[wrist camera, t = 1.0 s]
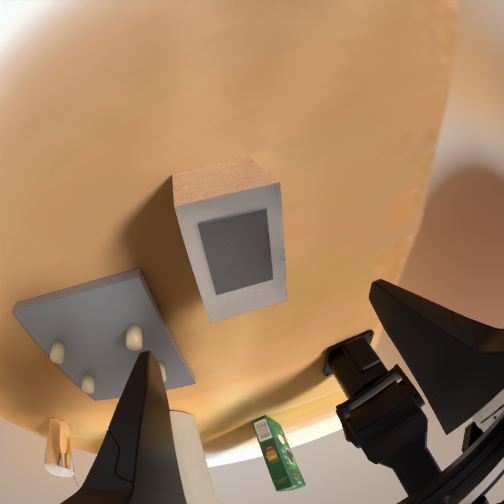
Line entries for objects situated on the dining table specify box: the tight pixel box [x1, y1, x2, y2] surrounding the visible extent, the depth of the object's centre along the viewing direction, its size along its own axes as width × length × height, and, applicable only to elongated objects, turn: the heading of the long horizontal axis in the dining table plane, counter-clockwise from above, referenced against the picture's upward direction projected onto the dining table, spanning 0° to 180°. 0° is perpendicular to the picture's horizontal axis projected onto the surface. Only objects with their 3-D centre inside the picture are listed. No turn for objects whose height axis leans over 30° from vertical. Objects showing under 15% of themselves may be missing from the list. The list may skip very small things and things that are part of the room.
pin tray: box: [12, 268, 196, 401], centre depth 19 cm, size 14×12×2 cm
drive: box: [172, 157, 287, 323], centre depth 15 cm, size 7×4×5 cm, turn 8°
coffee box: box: [252, 416, 306, 491], centre depth 33 cm, size 8×3×13 cm, turn 23°
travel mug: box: [170, 411, 218, 504], centre depth 22 cm, size 8×8×18 cm
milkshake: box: [44, 418, 79, 487], centre depth 21 cm, size 4×5×10 cm
